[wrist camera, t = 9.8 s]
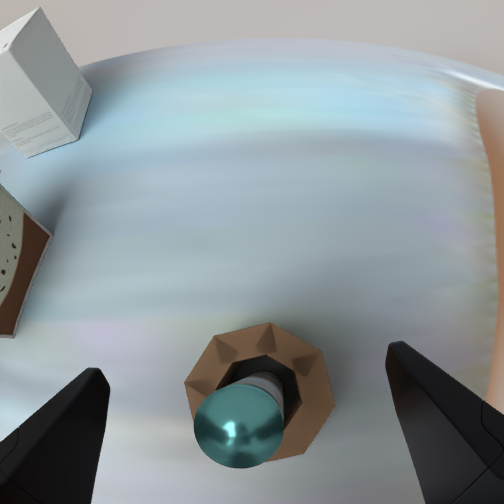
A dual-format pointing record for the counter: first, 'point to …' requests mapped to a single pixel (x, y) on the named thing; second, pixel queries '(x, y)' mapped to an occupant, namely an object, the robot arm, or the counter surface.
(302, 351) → the brown octagonal ring
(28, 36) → the supplement box
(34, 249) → the food container
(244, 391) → the teal-capped metal tube
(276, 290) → the counter surface
